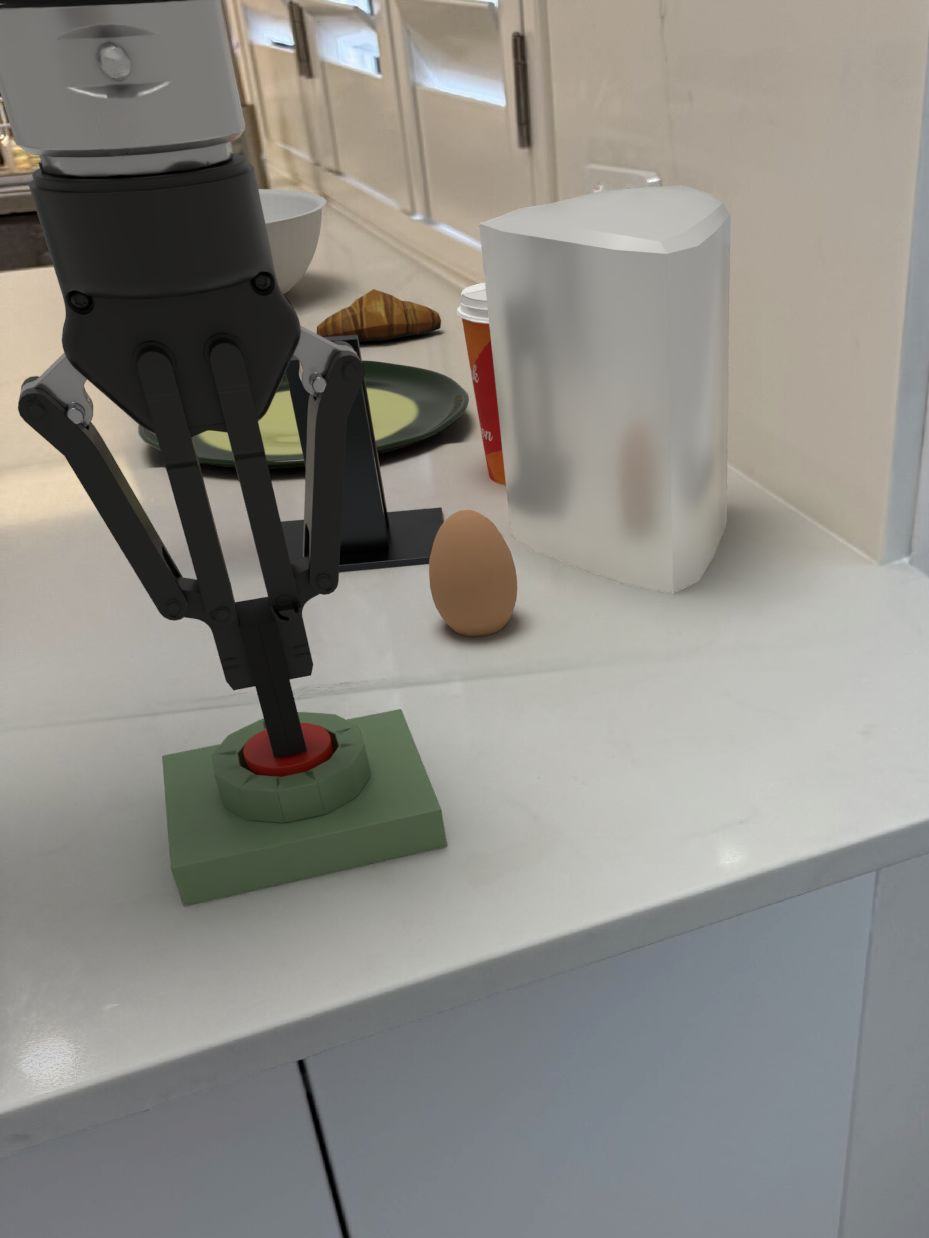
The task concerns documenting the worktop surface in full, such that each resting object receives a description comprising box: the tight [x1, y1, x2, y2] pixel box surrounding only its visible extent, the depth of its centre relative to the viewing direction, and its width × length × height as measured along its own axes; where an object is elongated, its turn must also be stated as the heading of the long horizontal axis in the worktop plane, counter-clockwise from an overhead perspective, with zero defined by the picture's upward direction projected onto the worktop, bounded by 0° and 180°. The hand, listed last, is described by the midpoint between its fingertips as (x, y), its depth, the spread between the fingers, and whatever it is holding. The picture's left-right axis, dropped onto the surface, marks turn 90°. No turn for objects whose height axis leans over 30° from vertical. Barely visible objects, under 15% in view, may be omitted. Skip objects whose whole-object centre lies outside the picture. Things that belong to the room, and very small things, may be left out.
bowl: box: [258, 188, 328, 294], centre depth 142 cm, size 27×27×10 cm
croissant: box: [316, 288, 442, 343], centre depth 129 cm, size 14×7×5 cm, turn 112°
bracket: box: [281, 335, 445, 573], centre depth 80 cm, size 12×9×14 cm
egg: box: [428, 509, 518, 638], centre depth 72 cm, size 5×5×8 cm
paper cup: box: [456, 282, 506, 486], centre depth 90 cm, size 8×8×14 cm
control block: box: [161, 708, 448, 907], centre depth 58 cm, size 12×10×4 cm
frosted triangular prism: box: [478, 184, 731, 595], centre depth 78 cm, size 15×14×22 cm
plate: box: [137, 359, 470, 470], centre depth 105 cm, size 28×28×2 cm
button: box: [243, 723, 334, 777], centre depth 57 cm, size 4×4×2 cm
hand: (287, 739), depth 56 cm, fingers closed
